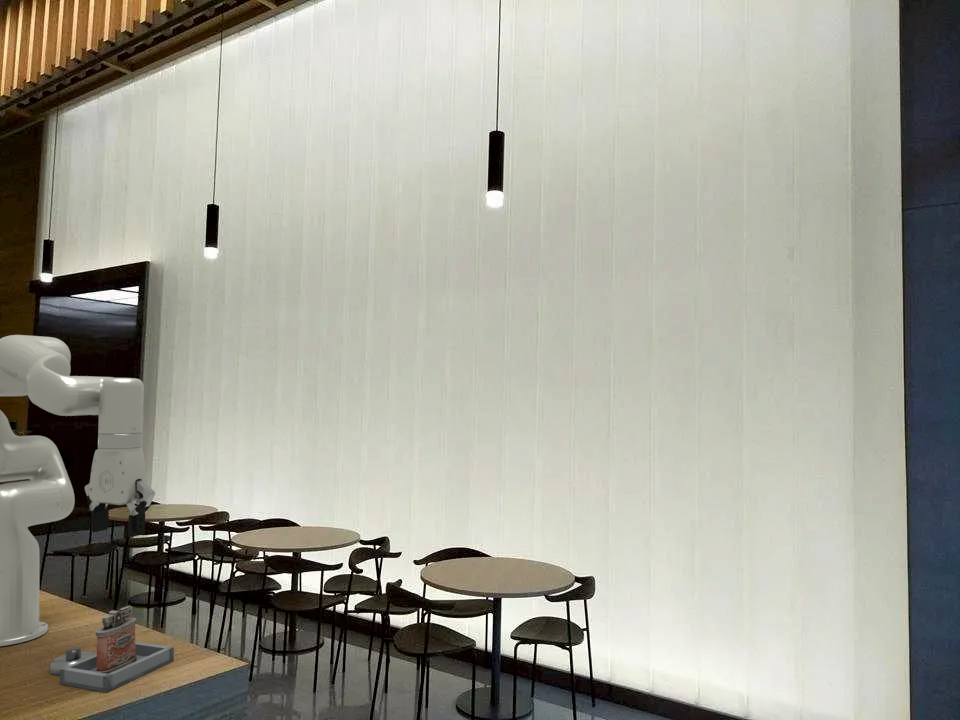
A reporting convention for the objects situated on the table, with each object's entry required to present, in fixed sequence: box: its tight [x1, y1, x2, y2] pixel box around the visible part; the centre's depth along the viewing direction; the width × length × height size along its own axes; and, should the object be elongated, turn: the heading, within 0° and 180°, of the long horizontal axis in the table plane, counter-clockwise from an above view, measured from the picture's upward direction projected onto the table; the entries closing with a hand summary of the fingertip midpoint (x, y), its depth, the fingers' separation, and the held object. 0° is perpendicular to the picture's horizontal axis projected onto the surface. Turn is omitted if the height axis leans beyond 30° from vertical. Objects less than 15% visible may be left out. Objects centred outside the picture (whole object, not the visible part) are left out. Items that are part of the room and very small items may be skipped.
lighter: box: [95, 605, 138, 674], centre depth 122 cm, size 8×3×10 cm, turn 164°
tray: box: [59, 641, 175, 693], centre depth 121 cm, size 11×14×2 cm
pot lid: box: [49, 646, 96, 677], centre depth 124 cm, size 7×7×3 cm
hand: (117, 533), depth 130 cm, fingers open, 9 cm apart
